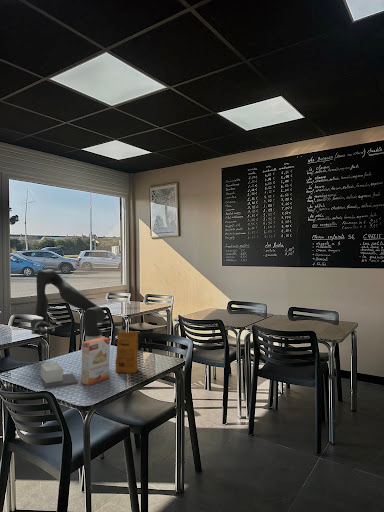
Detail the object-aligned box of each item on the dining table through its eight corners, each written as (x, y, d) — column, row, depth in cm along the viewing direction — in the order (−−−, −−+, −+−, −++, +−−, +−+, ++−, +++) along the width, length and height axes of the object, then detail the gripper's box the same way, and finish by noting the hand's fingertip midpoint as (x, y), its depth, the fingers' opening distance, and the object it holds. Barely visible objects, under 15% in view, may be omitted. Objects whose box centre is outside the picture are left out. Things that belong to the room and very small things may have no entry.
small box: (40, 376, 188) (45, 383, 177) (40, 364, 188) (45, 370, 177) (56, 374, 192) (62, 381, 181) (57, 362, 192) (63, 368, 181)
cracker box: (89, 386, 177) (89, 343, 177) (80, 383, 180) (81, 341, 180) (109, 378, 189) (110, 337, 189) (101, 376, 192) (102, 336, 192)
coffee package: (118, 367, 207) (119, 329, 207) (140, 368, 206) (140, 329, 206) (112, 373, 197) (113, 332, 197) (135, 374, 196) (135, 333, 196)
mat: (72, 375, 193) (72, 373, 193) (77, 383, 181) (77, 381, 181) (42, 379, 187) (42, 377, 187) (44, 388, 174) (45, 386, 174)
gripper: (29, 322, 214) (31, 327, 199) (53, 320, 220) (57, 324, 205) (29, 335, 214) (31, 341, 199) (53, 333, 220) (57, 338, 205)
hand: (44, 332), depth 202 cm, fingers closed
